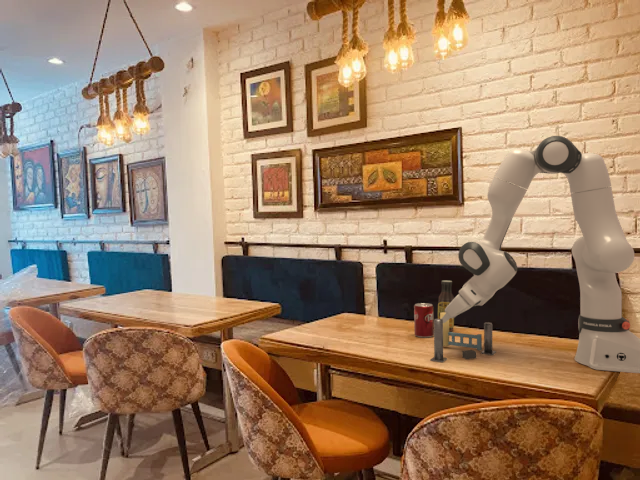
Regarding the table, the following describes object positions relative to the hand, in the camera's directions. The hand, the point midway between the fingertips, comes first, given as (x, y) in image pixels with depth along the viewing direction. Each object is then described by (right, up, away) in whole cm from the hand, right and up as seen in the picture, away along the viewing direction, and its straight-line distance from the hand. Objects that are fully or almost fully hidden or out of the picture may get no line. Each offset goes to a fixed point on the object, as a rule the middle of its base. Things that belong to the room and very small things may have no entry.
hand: (447, 318), depth 176 cm
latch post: (-6, -11, -12) cm, 17 cm away
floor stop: (+5, -11, -10) cm, 16 cm away
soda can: (-4, -10, +21) cm, 23 cm away
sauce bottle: (+7, -9, +28) cm, 30 cm away
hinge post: (+12, -11, -5) cm, 17 cm away
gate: (+5, -10, 0) cm, 11 cm away
